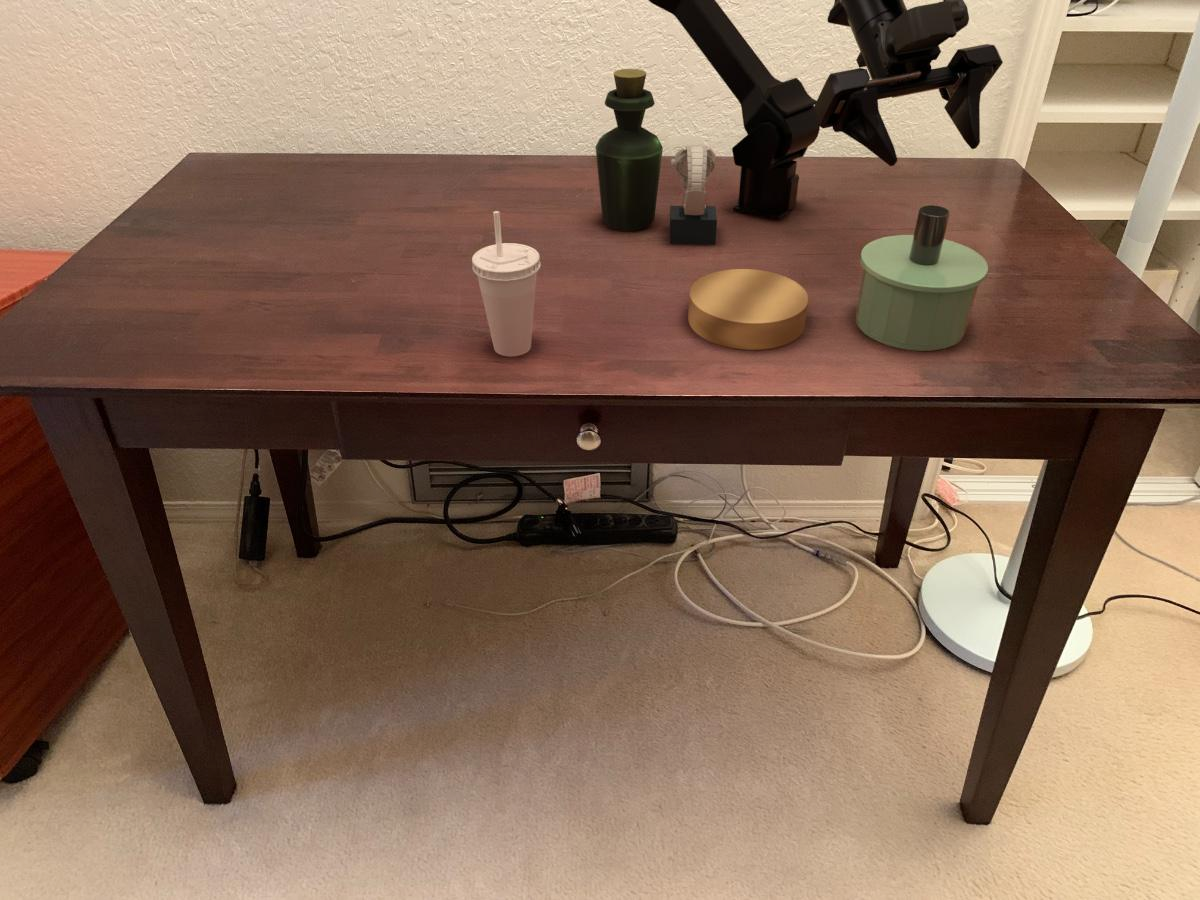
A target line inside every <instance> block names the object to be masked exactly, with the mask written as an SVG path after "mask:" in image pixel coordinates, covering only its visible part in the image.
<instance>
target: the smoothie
mask: <svg viewBox="0 0 1200 900" xmlns="http://www.w3.org/2000/svg"><path fill="white" fill-rule="evenodd" d="M492 213H493V225H494V237H495V238H494V239H495V243H494V244H491V245H488V246H484V247H482V248H480V249H478V250H476V252H475V253H474V254H473V255H472V258H471V262H472V265H471V267H472V271H473V273H474V274H475V275H476V276H477V280H478V286H479V289H480V294H481V298H482V302H483V307H484V311H485V316H486V320H487V325H488V329H489V333H490V337H491V341H492V347H493V351H494V352H495V353H496V354H498V355H500V356H504V357H519V356H523V355H525V354H527V353H528V352H529V351H530V350H531V349H532V341H533V340H532V339H533V329H534V328H533V327H534V316H535V315H534V314H535V301H536V288H537V277H538V276H537V275H538V271H539V270H540V268H541V265H542V262H541V257H540V253H539V252H538V250H536V249H535V248H533V246H529V245H527V244H522V243H515V242H514V243H513V242H504V243H503V239H502V227H501V214H500V213H501V212H500V211H499V210H495V211H493V212H492Z"/></svg>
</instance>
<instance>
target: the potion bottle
mask: <svg viewBox="0 0 1200 900" xmlns="http://www.w3.org/2000/svg"><path fill="white" fill-rule="evenodd" d="M646 77H647V72H646V71H645V70H643V69H639V68H623V69H617V70H615V71H614V72H613V78H614V84H615V89H612V90H609V91H608V92H607V94H606V97H605V99H604V105H605V107H607V108H609V109H610V110H613V114H614V118H615V122H616V126H615V127H614V128H612V129H610V130H609V131H607V132H605V133H604V134H602V135H601V136H600V138H599V139H598V141H597V143H596V145H595V154H596V155H595V156H596V157H595V158H596V166H597V177H598V188H599V198H600V209H601V216H602V217H601V219H602V222H603V224H604V225H605V226H607V227H608V228H609V229H612V230H615V231H619V232H638V231H642V230H645V229H647V228H649V227H650V226H652V225H653V223H654V221H655V217H656V207H657V200H658V193H659V192H658V190H659V182H660V176H661V175H660V174H661V168H662V167H661V166H662V158H663V148H664V146H663V145H662V143H661V141H660V140H659V137H658V135H656V134H654V133H653V132H651V131H649V130H647V128H644V127H642V124H643V121H644V117H645V114H646V110H648V109H650V108H653V107H654V106H655V104H656V103H655V100H654V99H655V98H654V96H653V94H652V92H651V91H650V90H648V89H644V87H645V83H646Z"/></svg>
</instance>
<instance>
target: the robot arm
mask: <svg viewBox="0 0 1200 900" xmlns="http://www.w3.org/2000/svg"><path fill="white" fill-rule="evenodd" d="M648 2H649V3H650V4H653V5H654V6H656V7H658V8H660V9H662V10H664V11H665V12H667V13H670V14H671V15H672V16H674V17H675V18H676V20H677V21H678V22H679V24H680V26H682V28H683V29H684V30H685V31H686V33H687V34H688V36H689V37H690V38H691V40H692V41H693V42H694V44H695V45H696V46H697V48H698V49H699V50H700V52H701V53H702V54H703V56H704V57H705V58H706V59H707V61H708V62H709V64H710V65H711V66H712V68H713V69H714V70H715V72H716V73H717V75H719V77H720V78H721V80H722V81H723V82H724V84H725V85H726V87H727V88H728V89H729V90H730V91H731V93H732V94H733V96H734V97H735V99H736V100H737V101H738V103H739V104H740V109H741V117H742V123H743V124H742V125H743V128H744V130H745V132H746V136H744V137H743V138H742V139H741V140H740V141H739V142H737V143H736V144H735V145H734V146H733V147H732V148H731V151H732V156H733V161H734V165H735V166H737V167H740V178H739V189H738V201H737V202H736V203H735V204H734V205H732V210H733V211H734V212H738V213H744V214H747V215H752V216H757V217H762V218H765V219H771V220H775V221H776V220H780V219H782V218H783V217H784V216H785V215H786V214H787V213H789V211H791V210H792V209H793V208H794V207H795V206H797V203H798V202H797V196H798V187H799V181H800V175H799V174H798V173H797V164H798V163H797V162H798V161H797V159H800V158H803V157H804V156H805V155H806V152H807V150H808V148H809V146H812V144H815V141H816V140H817V138H818V136H819V134H820V130H821V129H828V128H832V131H834V133H843V134H845V135H846V136H848V137H850V138H851V139H853V140H854V141H856V142H857V143H859V144H860V145H862V146H864V147H865V148H866V149H867V150H869V151H870V152H871V153H873V154H874V155H875V156H876V157H878V158H879V159H880V160H882V161H883V162H884V163H885V164H887V165H888V166H889V167H894V166H895V165H896V163H898V157H897V153H896V149H895V146H894V143H893V141H892V139H891V137H890V134H889V132H888V129H887V127H886V125H885V123H884V120H883V118H882V115H881V113H880V110H879V100H883V99H884V100H885V99H889V98H892V99H894V98H899V97H905V96H910V95H914V94H920V93H924V92H930V91H934V90H938V92H939V94H940V96H941V99H942V100H945V101H946V103H945V105H944V110H945V111H946V113H947V115H948V116H949V118H950V119H951V121H952V123H953V125H954V126H955V128H956V129H957V131H958V133H959V134H960V136H961V137H962V139H963V140H964V142H965V143H966V144H967V146H968V147H969V148H970V149H971V150H975V149H977V148H978V147H979V145H980V143H981V125H980V124H981V122H980V121H981V119H980V118H981V116H980V113H981V111H980V106H981V105H980V103H981V96H982V95H981V94H982V92H983V91H984V89H985V88H986V87H987V85H988V84H989V83H990V81H991V80H992V79H993V78H994V75H995V74H996V73H997V72H998V70H999V69H1000V67H1001V66H1002V65H1003V63H1004V62H1003V59H1002V58H1001V55H1000V52H999V50H998V49H997V46H996V45H995V44H989V43H985V44H980V45H974V46H969V47H964V48H959V49H956V51H955V53H954V55H953V56H952V57H951V59H950V60H949V61H948V64H947V65H946V66H941V67H936V68H932V65H931V63H932V62H933V61H937V60H938V58H939V56H940V55H941V53H942V50H941V48H940V45H941V44H943V43H944V42H945V41H947V40H948V39H949V38H950V39H953V38H954V37H956V36H957V33H959V32H960V31H961V30H963V29H964V28H966V27H967V26H968V25H969V23H970V22H969V21H970V15H969V10H968V5H967V4H966V2H965V1H964V0H942V1H939V2H934V3H928V4H923V5H917V6H913V7H911V8H909V9H908V8H907V6H906V3H905V2H904V0H834V3H833V5H832V7H831V9H830V10H829V12H828V15H827V23H828V24H833V25H838V26H843V27H848V28H850V30H851V32H852V34H853V37H854V39H855V42H856V45H857V47H858V49H859V53H858V55H857V57H856V60H855V61H856V63H857V66H858V68H853V69H848V70H842V71H838V72H837V71H836V72H831V73H829V75H828V77H827V79H826V81H825V83H824V84H823V87H822V89H821V91H820V93H819V95H818V97H817V99H815V98H813V97H811V95H810V94H809V93H808V92H807V90H806V88H805V87H804V85H803V83H802V81H800V80H799V79H798V77H793V78H791V79H788V80H785V81H781V80H779V79H777V77H776V78H775V77H774V76H773V75H772V73H771V72H770V71H769V69H768V68H767V67H766V65H765V64H764V63H763V61H762V60H761V59H760V58H759V56H758V55H757V54H756V52H755V51H754V50H753V48H752V47H751V46H750V44H749V43H748V42H747V40H746V39H745V37H744V36H743V35H742V33H740V31H739V30H738V28H737V27H736V25H735V24H734V23H733V22H732V20H731V19H730V17H729V16H728V15H727V14H726V12H725V11H724V10H723V8H722V7H721V6H720V5H719V3H718V2H717V1H716V0H648ZM864 67H866V68H864ZM820 128H821V129H820Z"/></svg>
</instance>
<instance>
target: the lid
mask: <svg viewBox="0 0 1200 900" xmlns="http://www.w3.org/2000/svg"><path fill="white" fill-rule="evenodd" d="M950 214H951V212H950V210H949V209H947V208H946V207H943V206H940V205H931V204H930V205H929V204H928V205H922V206H921V207H919V209H918V213H917V218H916V223H915V226H914V227H915V228H914V232H913V234H898V235H897V234H896V235H889V236H884V237H880V238H877V239H874V240H872V241H869V242H867V244H866V245H864V246H863V248H862V249H861V251H860V256H859V261H860V264H861V266H862V268H863V269H865V270H866V271H867V272H868V273H869V274H870V275H872V276H873V277H875V278H877V279H879V280H881V281H883V282H885V283H888V284H890V285H893V286H896V287H900V288H904V289H909V290H914V291H920V292H931V293H948V292H958V291H963V290H967V289H970V288H973V287H975V286H977V285H978V286H979V285H981V284H982V283H983V282H984V281H985V280H986V278H987V277H988V273H989V266H988V265H989V264H988V263H987V260H986V259H985V258H984V257H983V256H982V255H981V254H980V253H978V252H977V251H975V250H974V249H972V248H970V247H968V246H966V245H964V244H961V243H959V242H955V241H952V240H949V239H945V236H946V232H947V228H948V223H949V219H950Z"/></svg>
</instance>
